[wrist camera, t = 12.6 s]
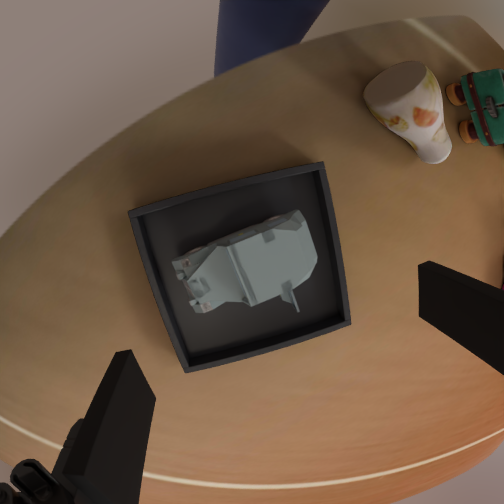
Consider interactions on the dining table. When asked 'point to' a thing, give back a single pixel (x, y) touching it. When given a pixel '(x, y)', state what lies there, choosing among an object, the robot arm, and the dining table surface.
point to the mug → (411, 108)
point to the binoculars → (481, 106)
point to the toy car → (250, 264)
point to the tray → (227, 222)
